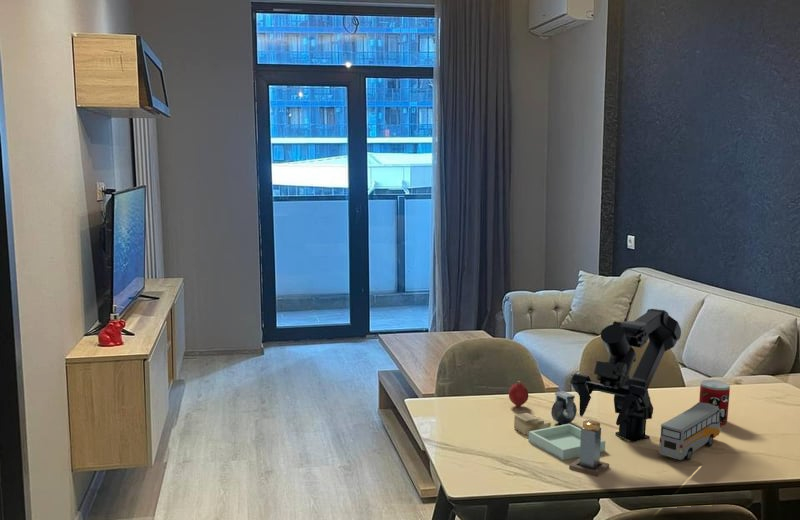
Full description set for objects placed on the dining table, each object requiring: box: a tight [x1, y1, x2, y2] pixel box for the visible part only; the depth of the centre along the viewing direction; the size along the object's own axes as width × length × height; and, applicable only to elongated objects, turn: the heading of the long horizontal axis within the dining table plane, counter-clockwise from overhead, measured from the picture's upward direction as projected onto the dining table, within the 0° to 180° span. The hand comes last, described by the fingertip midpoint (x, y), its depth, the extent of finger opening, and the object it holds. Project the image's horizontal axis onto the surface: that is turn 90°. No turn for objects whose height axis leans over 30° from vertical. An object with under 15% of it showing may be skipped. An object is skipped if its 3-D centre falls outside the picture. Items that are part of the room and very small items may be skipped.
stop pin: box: [579, 419, 602, 470], centre depth 172 cm, size 4×4×11 cm
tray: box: [528, 423, 606, 461], centre depth 186 cm, size 14×14×3 cm
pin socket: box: [568, 457, 610, 478], centre depth 172 cm, size 7×7×1 cm
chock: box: [513, 412, 552, 435], centre depth 198 cm, size 8×5×4 cm, turn 117°
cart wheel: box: [551, 390, 578, 425], centre depth 203 cm, size 7×5×8 cm
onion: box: [508, 380, 529, 408], centre depth 216 cm, size 6×6×8 cm
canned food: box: [698, 379, 731, 426], centre depth 206 cm, size 8×8×11 cm
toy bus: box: [658, 401, 725, 462], centre depth 185 cm, size 7×26×10 cm, turn 136°
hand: (598, 420), depth 174 cm, fingers open, 9 cm apart
